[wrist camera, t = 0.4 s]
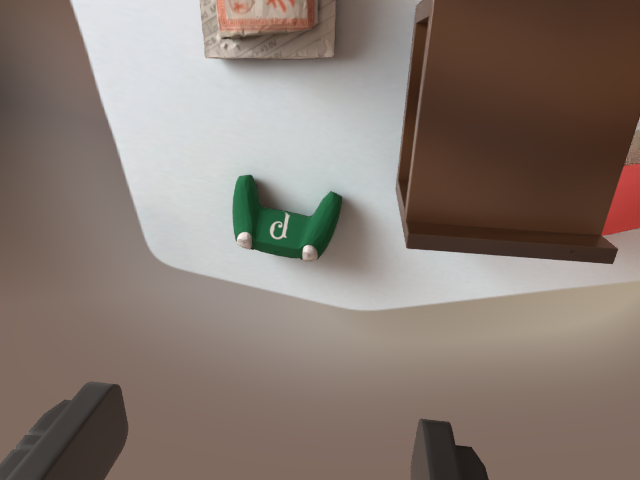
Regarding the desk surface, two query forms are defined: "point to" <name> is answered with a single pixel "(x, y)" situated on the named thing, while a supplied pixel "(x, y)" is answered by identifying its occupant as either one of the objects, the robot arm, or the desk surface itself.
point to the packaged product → (268, 28)
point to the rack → (518, 125)
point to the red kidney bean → (625, 202)
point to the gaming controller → (282, 224)
